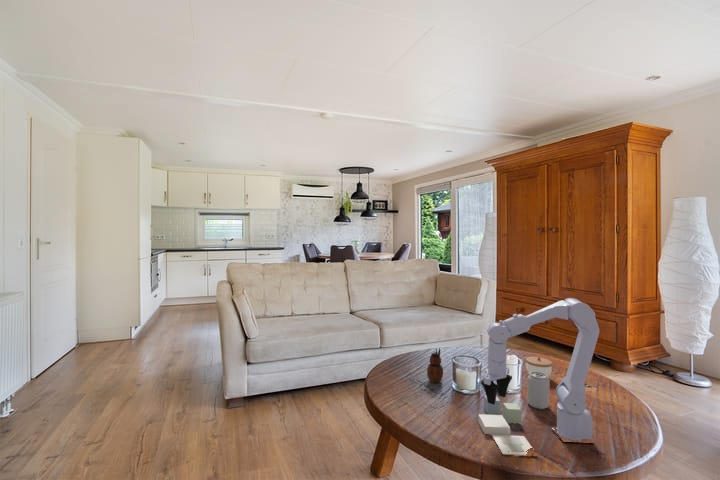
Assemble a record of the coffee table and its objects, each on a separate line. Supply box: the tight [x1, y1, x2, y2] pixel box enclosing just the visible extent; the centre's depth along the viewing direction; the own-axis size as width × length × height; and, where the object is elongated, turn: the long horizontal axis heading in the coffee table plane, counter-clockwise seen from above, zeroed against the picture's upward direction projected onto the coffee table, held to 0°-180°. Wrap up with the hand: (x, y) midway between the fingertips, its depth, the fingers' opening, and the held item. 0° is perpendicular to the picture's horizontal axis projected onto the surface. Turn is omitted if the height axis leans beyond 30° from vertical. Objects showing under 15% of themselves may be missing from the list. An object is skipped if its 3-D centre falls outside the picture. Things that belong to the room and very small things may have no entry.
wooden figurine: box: [426, 347, 444, 384], centre depth 158 cm, size 7×6×15 cm
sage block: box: [502, 402, 522, 425], centre depth 125 cm, size 4×4×5 cm
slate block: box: [483, 394, 501, 415], centre depth 132 cm, size 4×4×5 cm
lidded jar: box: [525, 356, 553, 378], centre depth 164 cm, size 11×11×9 cm
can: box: [526, 372, 551, 410], centre depth 136 cm, size 8×8×12 cm
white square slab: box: [477, 413, 511, 436], centre depth 120 cm, size 8×8×3 cm
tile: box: [491, 434, 533, 455], centre depth 110 cm, size 10×10×1 cm
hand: (496, 399), depth 121 cm, fingers open, 7 cm apart
